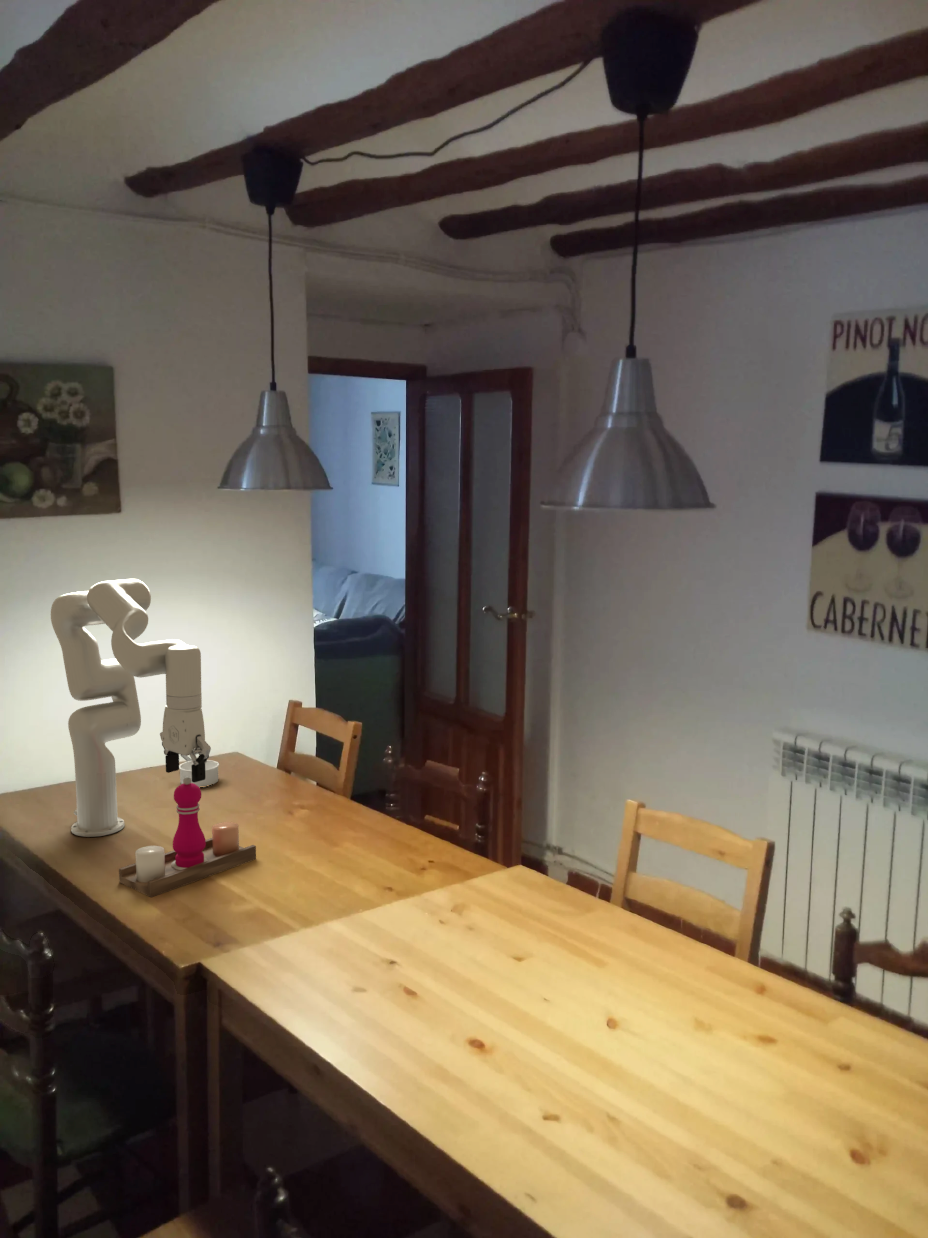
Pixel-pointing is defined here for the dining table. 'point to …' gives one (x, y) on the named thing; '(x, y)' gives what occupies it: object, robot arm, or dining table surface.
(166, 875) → the rail
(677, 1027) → the dining table surface
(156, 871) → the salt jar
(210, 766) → the saucepan
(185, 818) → the pepper mill
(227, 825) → the pink pillar candle
